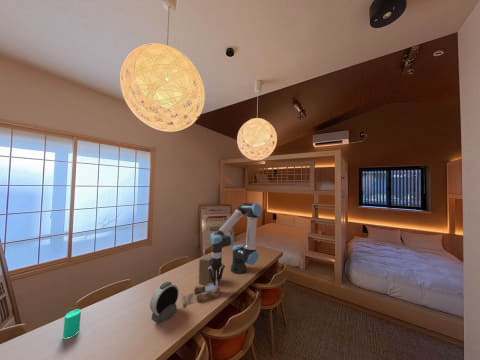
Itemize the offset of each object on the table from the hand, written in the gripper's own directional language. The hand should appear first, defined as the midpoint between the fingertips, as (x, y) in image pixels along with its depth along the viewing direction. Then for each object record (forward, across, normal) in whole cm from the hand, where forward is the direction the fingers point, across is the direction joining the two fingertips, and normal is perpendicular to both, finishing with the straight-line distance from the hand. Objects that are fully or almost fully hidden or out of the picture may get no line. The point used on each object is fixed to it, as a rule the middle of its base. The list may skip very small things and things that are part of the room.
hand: (216, 289), depth 119 cm
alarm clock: (+3, +35, +7) cm, 36 cm away
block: (+2, +4, 0) cm, 4 cm away
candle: (+3, +79, 0) cm, 79 cm away
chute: (+2, +11, 0) cm, 12 cm away
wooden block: (+2, +3, -17) cm, 17 cm away
